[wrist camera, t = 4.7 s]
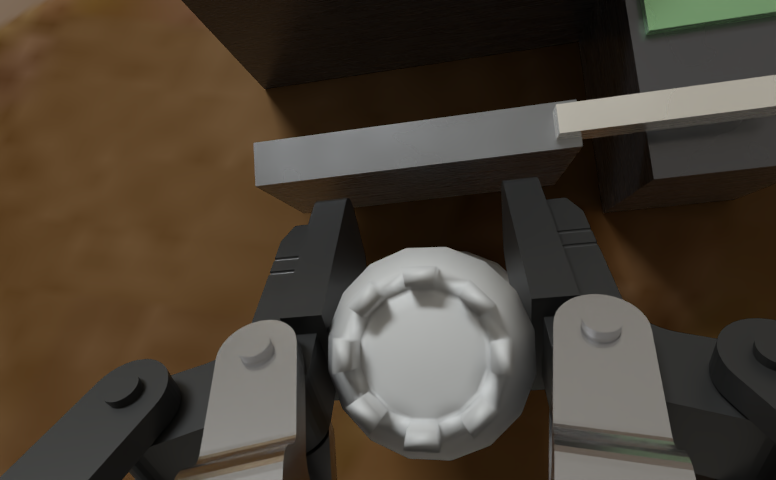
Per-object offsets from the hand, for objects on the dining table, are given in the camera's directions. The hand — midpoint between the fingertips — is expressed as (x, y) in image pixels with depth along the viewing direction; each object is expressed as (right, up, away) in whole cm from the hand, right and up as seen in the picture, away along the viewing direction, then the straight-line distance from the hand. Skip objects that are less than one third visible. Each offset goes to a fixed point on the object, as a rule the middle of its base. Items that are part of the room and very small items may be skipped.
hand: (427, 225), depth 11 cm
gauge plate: (+2, +2, +3) cm, 4 cm away
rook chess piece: (+1, -3, +4) cm, 5 cm away
